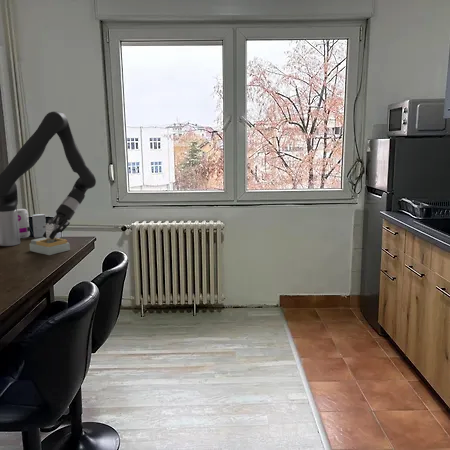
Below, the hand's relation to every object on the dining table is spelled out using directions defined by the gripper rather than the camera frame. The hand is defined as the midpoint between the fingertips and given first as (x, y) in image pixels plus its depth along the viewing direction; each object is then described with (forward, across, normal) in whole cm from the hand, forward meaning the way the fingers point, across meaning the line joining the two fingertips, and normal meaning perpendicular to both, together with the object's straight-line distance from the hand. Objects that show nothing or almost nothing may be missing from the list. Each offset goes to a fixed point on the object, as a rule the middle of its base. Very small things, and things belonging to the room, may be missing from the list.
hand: (47, 237), depth 194 cm
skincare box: (-8, -35, +18) cm, 40 cm away
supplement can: (-3, -43, +13) cm, 45 cm away
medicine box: (-8, -23, +18) cm, 31 cm away
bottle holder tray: (+3, -2, +6) cm, 7 cm away
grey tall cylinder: (+2, 0, +5) cm, 5 cm away
